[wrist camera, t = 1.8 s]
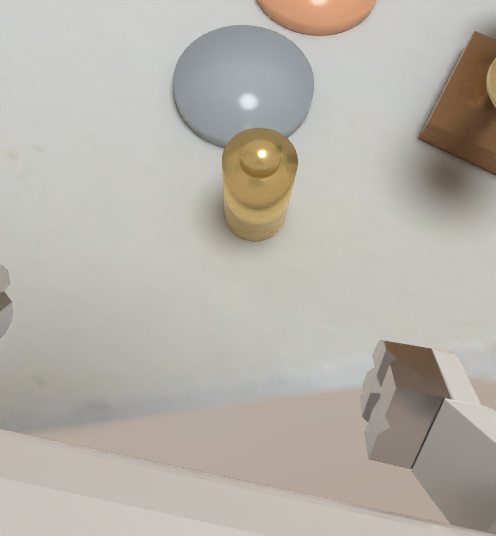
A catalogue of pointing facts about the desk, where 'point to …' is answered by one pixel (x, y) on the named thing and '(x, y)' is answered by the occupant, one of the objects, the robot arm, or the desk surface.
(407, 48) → the desk surface
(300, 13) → the terracotta dish
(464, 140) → the balance
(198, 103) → the grey glossy dome
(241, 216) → the brass weight
